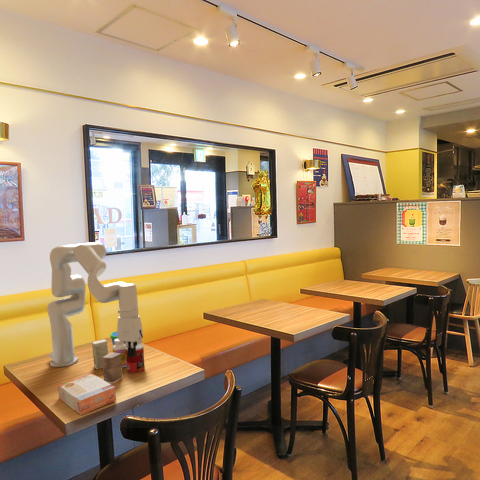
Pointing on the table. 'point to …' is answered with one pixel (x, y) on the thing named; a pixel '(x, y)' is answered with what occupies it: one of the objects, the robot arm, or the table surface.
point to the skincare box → (99, 352)
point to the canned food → (136, 360)
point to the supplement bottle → (120, 351)
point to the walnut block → (112, 367)
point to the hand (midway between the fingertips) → (132, 356)
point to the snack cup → (113, 337)
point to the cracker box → (86, 393)
